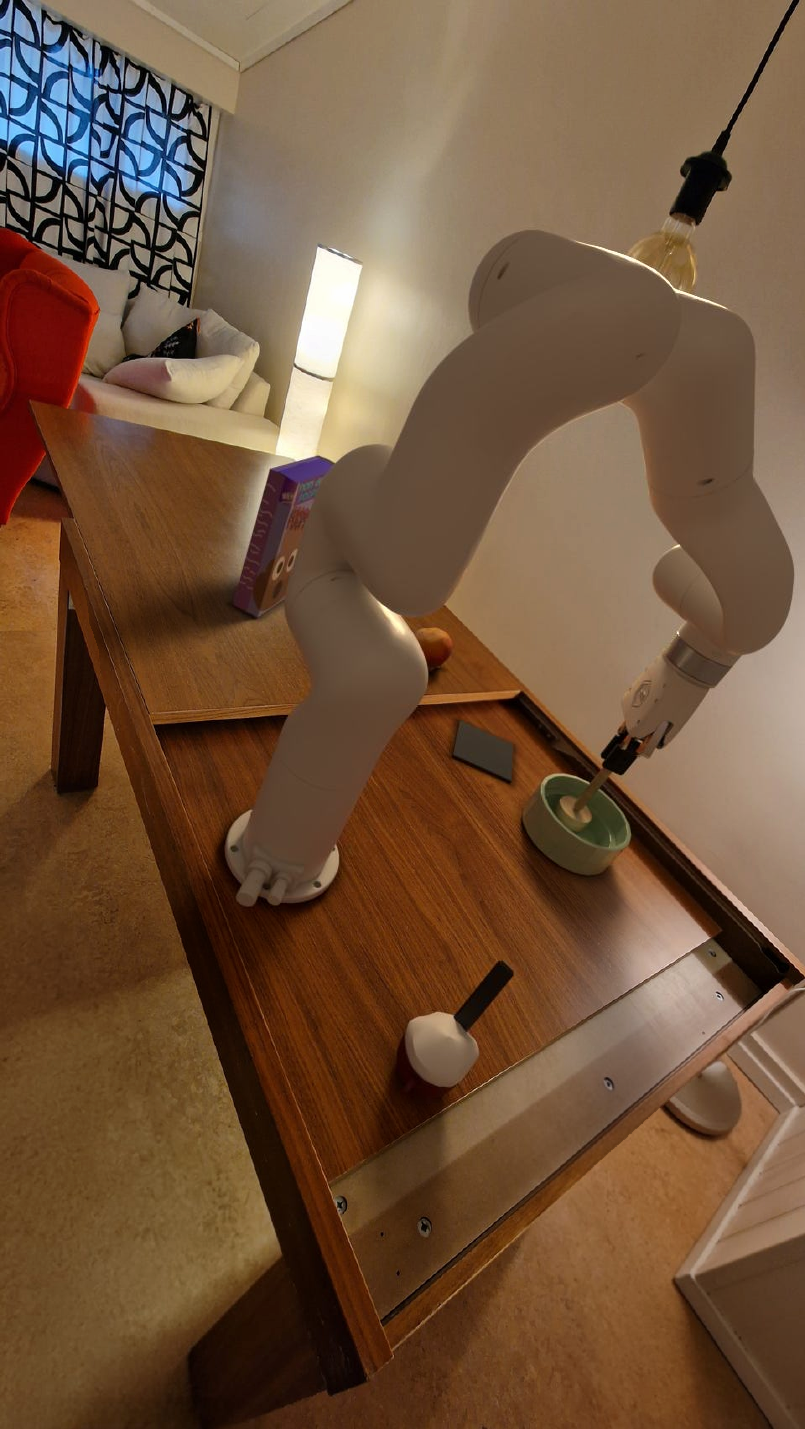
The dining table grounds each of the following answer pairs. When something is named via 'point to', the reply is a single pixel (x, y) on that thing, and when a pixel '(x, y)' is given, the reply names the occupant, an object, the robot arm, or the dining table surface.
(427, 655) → the fruit
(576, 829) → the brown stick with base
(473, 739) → the mat
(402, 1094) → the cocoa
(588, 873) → the bowl
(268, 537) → the cereal box
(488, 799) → the dining table surface
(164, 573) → the dining table surface
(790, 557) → the robot arm
